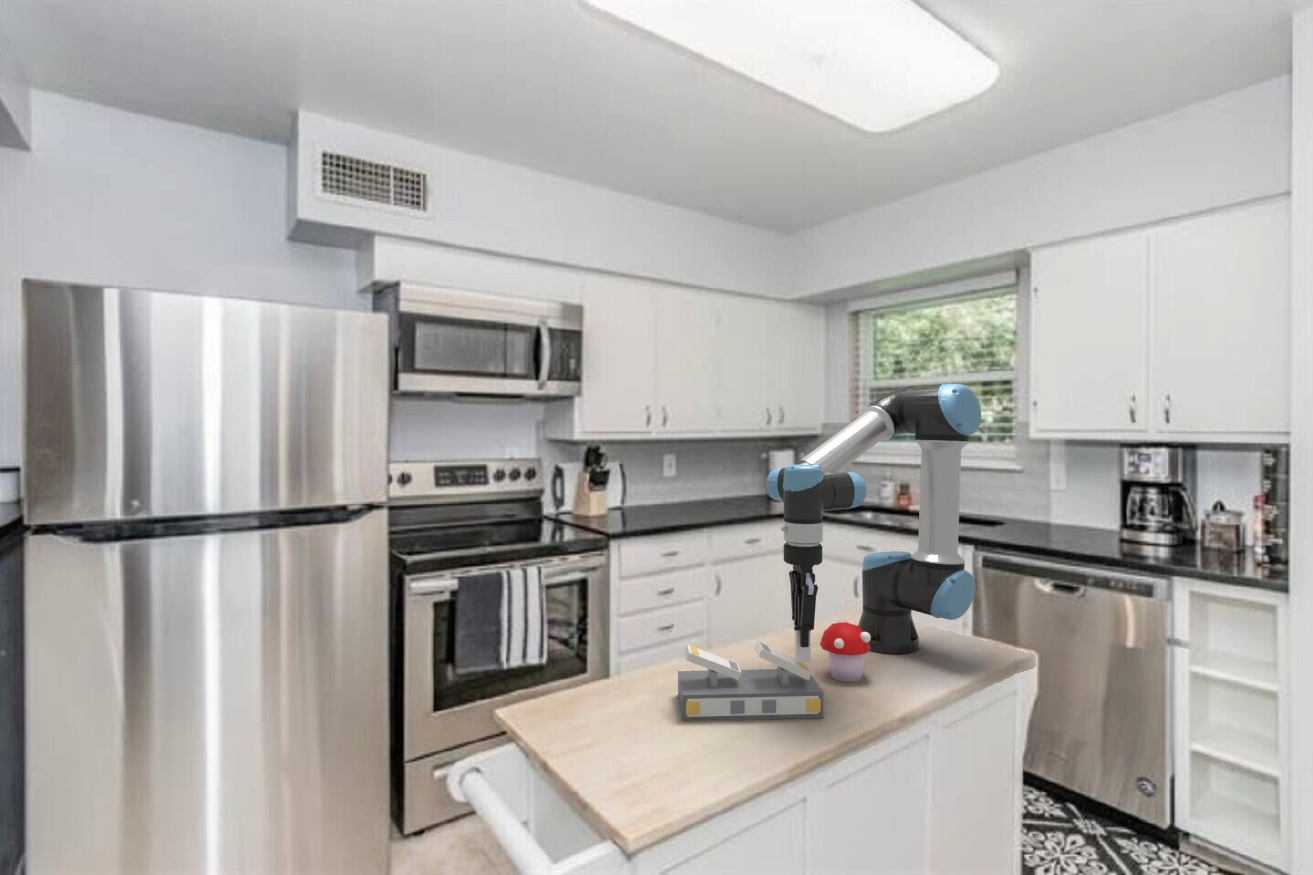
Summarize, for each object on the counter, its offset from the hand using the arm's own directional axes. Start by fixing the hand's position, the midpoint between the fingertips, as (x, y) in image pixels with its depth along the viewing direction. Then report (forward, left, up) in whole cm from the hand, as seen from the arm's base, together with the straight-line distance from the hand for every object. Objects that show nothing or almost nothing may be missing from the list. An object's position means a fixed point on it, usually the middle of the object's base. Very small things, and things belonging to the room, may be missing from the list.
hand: (802, 660), depth 133 cm
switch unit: (+11, 0, -9) cm, 14 cm away
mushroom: (-13, -14, -9) cm, 21 cm away
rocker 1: (+18, 0, 0) cm, 18 cm away
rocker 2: (+4, 0, 0) cm, 4 cm away
